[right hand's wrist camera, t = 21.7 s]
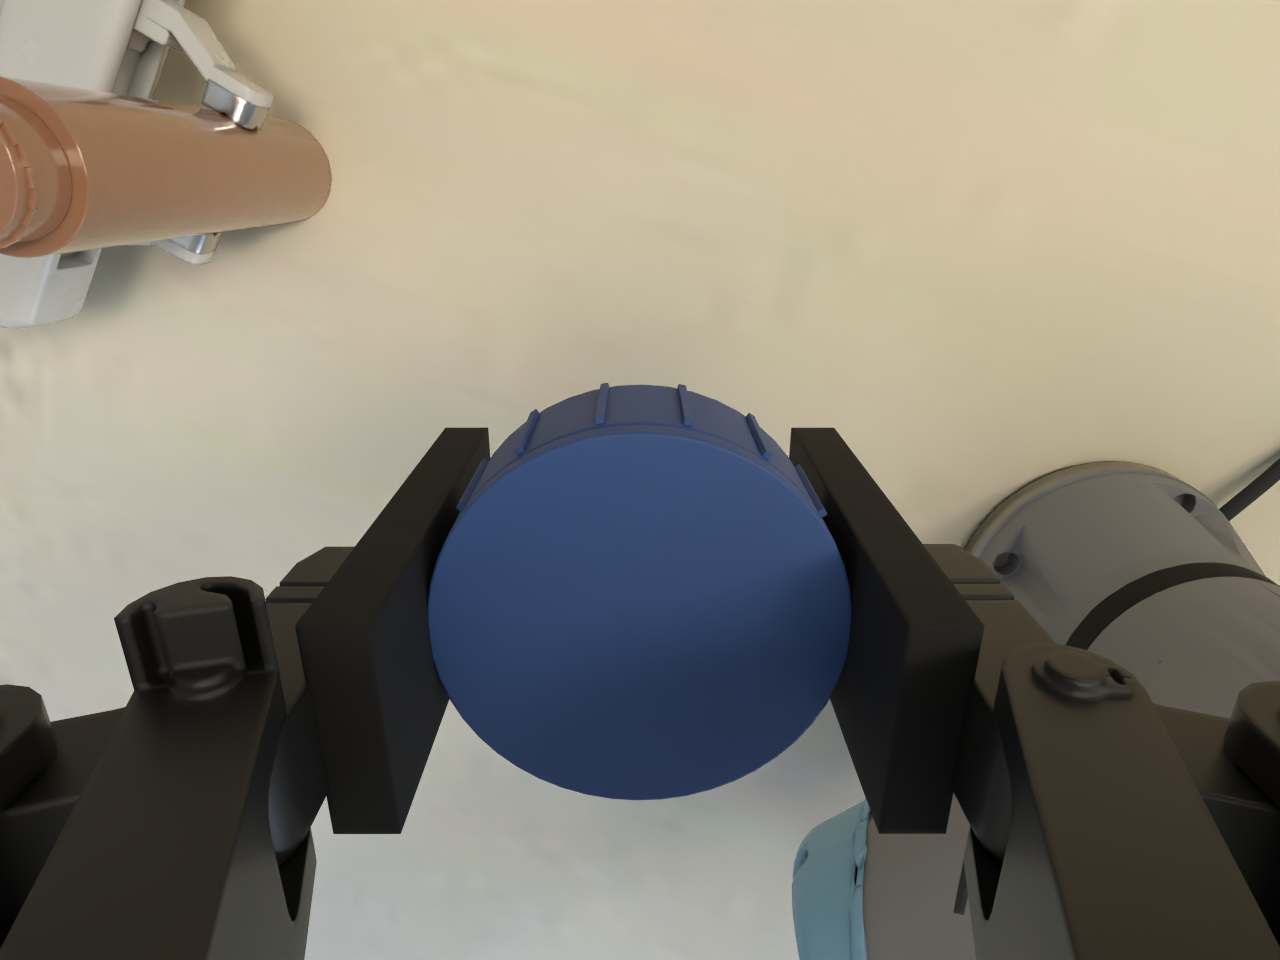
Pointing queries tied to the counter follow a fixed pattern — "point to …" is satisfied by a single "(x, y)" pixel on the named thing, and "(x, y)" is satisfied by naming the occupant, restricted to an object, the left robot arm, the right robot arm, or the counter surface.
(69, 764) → the right robot arm
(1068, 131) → the counter surface
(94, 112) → the jar
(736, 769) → the lid
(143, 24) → the left robot arm
